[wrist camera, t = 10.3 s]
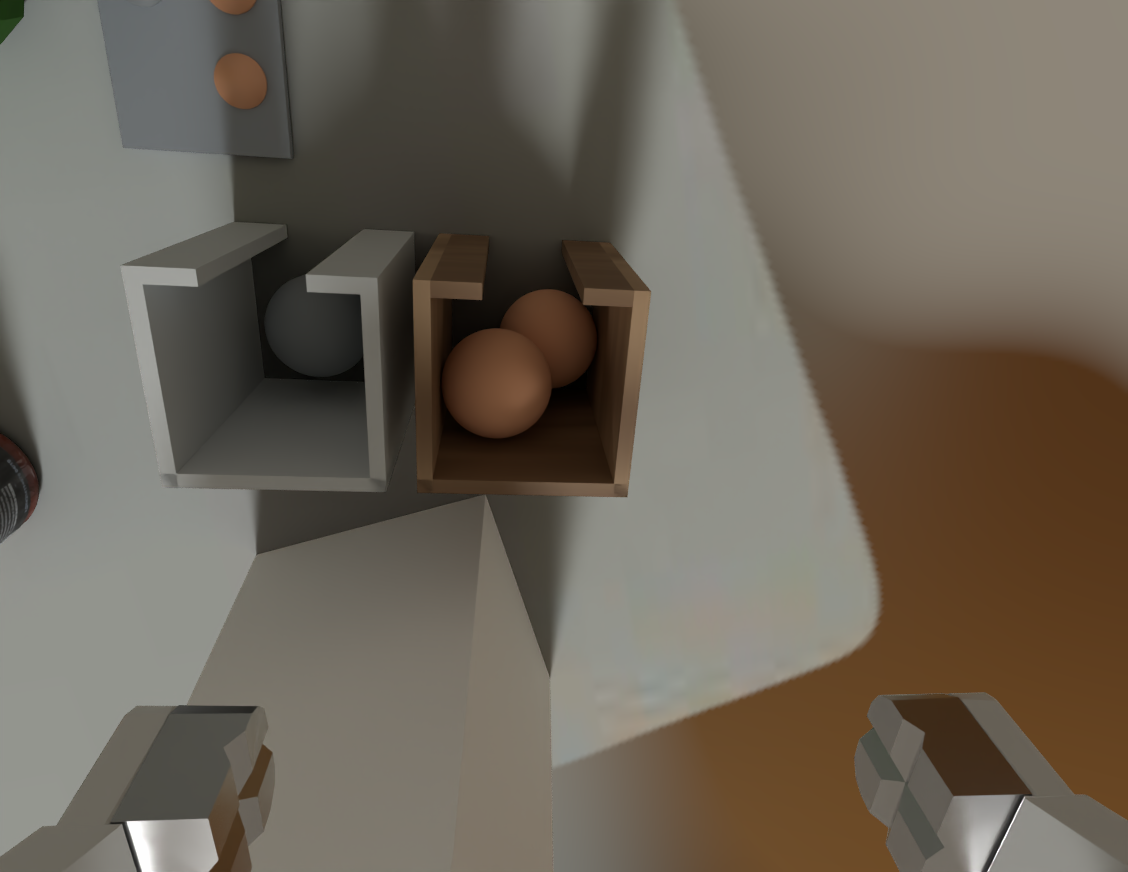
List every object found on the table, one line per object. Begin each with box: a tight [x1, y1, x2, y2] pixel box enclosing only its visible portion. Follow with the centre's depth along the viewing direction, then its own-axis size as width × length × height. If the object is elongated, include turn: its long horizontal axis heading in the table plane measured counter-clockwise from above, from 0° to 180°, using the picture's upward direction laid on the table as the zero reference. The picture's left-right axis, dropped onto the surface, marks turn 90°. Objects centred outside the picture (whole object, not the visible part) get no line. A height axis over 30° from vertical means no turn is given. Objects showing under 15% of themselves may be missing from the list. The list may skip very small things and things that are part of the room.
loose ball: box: [441, 328, 552, 438], centre depth 26 cm, size 4×4×4 cm
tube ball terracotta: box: [500, 289, 597, 388], centre depth 29 cm, size 4×4×4 cm
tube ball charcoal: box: [265, 275, 364, 377], centre depth 28 cm, size 4×4×4 cm
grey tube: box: [120, 222, 415, 492], centre depth 25 cm, size 7×7×9 cm
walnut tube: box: [413, 233, 651, 497], centre depth 26 cm, size 7×7×9 cm
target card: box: [97, 0, 294, 159], centre depth 25 cm, size 8×6×1 cm
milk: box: [187, 494, 553, 872], centre depth 25 cm, size 12×12×26 cm
